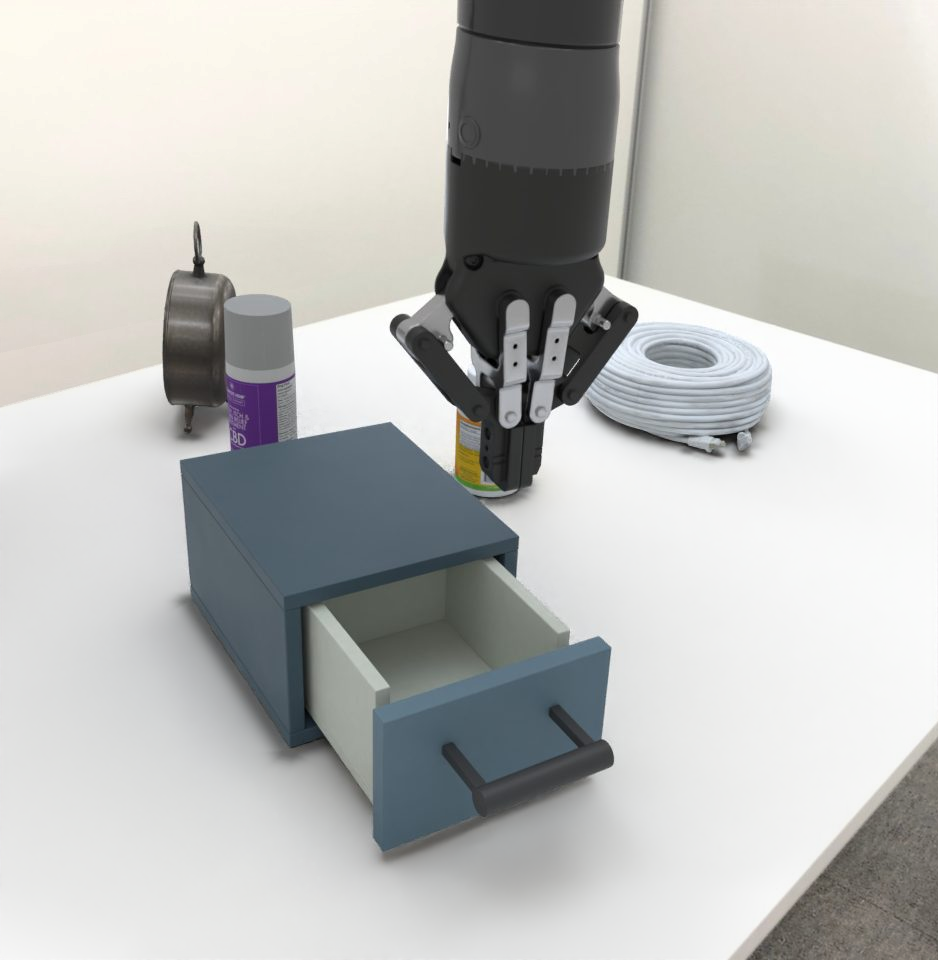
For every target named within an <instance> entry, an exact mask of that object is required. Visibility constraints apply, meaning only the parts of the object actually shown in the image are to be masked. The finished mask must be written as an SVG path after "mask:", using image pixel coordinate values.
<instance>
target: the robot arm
mask: <svg viewBox="0 0 938 960" xmlns="http://www.w3.org/2000/svg"><path fill="white" fill-rule="evenodd" d="M624 3H625V0H457V4H456V5H457V8H456V24H457V25H458V26H456V28H455V41H454V47H453V54H452V59H451V65H450V70H449V71H450V72H449V77H448V90H447V113H446V114H447V115H446V117H447V118H446V119H447V120H446V143H445V145H446V146H445V168H444V169H445V170H444V171H445V173H444V199H443V202H444V203H443V224H442V225H443V228H442V229H443V237H444V246H445V248H444V249H445V253H444V258H443V262H442V264H441V267H440V269H439V271H438V272H437V274H436V276H435V279H434V287H433V289H434V296H433V297H432V298H430V300H428V301H427V302H426V303H425V304H424V305H423V306H421V307H420V308H419V309H418V310H417V311H416V312H415V313H414V314H412V316H410V315H409V314H407V313H399V314H397V315H395V316H394V317H393V318H392V319H391V321H390V322H389V323H390V324H389V332H390V334H391V336H393V338H394V339H395V340H396V341H397V343H398V344H399V345H400V346H401V348H402V349H403V350H404V351H405V352H406V354H408V356H409V357H410V359H412V361H413V362H414V363H415V364H416V365H417V367H418V368H419V369H420V370H421V371H422V372H423V374H424V375H425V376H426V377H427V378H428V380H429V381H430V382H431V383H432V384H433V385H434V387H435V388H436V390H438V391H439V393H440V394H441V395H442V396H443V397H444V399H445V400H446V401H447V402H448V403H449V404H451V405H452V406H454V407H456V409H457V408H458V409H459V410H461V411H462V412H463V414H464V415H465V416H466V417H467V418H468V419H470V420H471V421H472V422H481V436H480V454H479V464H480V467H481V469H482V471H483V472H484V473H485V474H486V475H487V476H488V477H489V478H490V480H491V481H492V482H493V483H494V484H496V485H497V486H498V487H499V488H500V489H501V490H502V491H504V492H506V491H510V490H515V489H518V490H520V489H524V488H529V487H531V486H532V484H533V479H534V476H537V475H538V473H539V471H540V469H541V466H542V458H543V456H542V455H543V447H544V433H545V425H546V424H545V423H546V420H547V419H548V418H549V417H550V415H551V414H552V413H551V412H552V411H553V410H555V409H557V408H559V407H561V406H562V405H565V406H568V407H572V406H575V405H576V404H578V403H579V402H580V401H581V400H582V398H583V396H584V395H586V394H585V392H586V391H587V390H588V388H589V387H590V386H591V384H592V383H593V381H594V380H595V379H596V377H597V376H598V375H599V373H600V372H601V370H602V369H603V368H604V366H605V365H606V364H607V362H608V361H609V360H610V358H611V357H612V355H613V354H614V353H615V351H616V350H617V349H618V347H619V346H620V344H621V343H622V342H623V340H624V339H625V338H626V336H627V335H628V333H629V332H630V331H631V329H632V328H633V327H634V325H635V324H636V323H638V320H639V318H640V317H639V315H640V313H639V310H638V308H637V307H635V306H633V305H632V304H630V303H629V302H627V301H625V300H623V299H622V298H620V297H619V296H617V295H615V294H614V293H612V292H611V291H610V290H609V289H608V288H606V286H605V278H606V277H605V271H604V268H603V266H602V263H601V260H600V255H599V254H600V253H602V251H603V250H604V248H605V246H606V243H607V236H608V228H609V227H608V225H609V215H610V206H611V205H610V204H611V196H612V186H613V185H612V184H613V175H614V164H615V152H616V144H617V143H616V142H617V134H618V126H619V124H618V123H619V116H620V115H619V113H620V100H621V81H620V80H621V79H620V77H621V76H620V45H621V44H620V42H621V33H622V23H623V14H624ZM451 322H453V323H454V324H455V326H456V328H457V329H458V330H459V332H460V333H461V335H462V336H463V337H464V339H465V340H466V342H467V343H468V345H470V360H471V364H473V366H474V368H475V371H476V386H475V385H474V384H473V383H472V382H471V380H470V379H469V378H468V377H467V374H466V373H465V372H464V371H463V369H462V368H461V366H460V365H459V364H458V363H457V361H456V360H455V359H454V358H453V357H452V356H451V354H450V353H449V352H451V351H452V350H453V349H454V334H453V333H452V330H451Z"/></svg>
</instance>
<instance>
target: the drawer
mask: <svg viewBox="0 0 938 960" xmlns="http://www.w3.org/2000/svg"><path fill="white" fill-rule="evenodd" d="M301 628H302V657H303V687H304V706H305V708H306V709H307V711H308V712H309V714H310V715H311V716H312V718H313V719H314V721H315V722H316V724H317V725H318V727H319V728H320V729H321V731H322V732H323V734H324V735H325V738H326V739H327V742H329V744H330V745H331V746H332V749H334V751H335V752H336V754H337V755H338V757H339V758H340V760H341V761H342V762H343V764H344V766H345V767H346V769H347V770H348V772H350V774H351V775H352V777H353V779H354V780H355V782H357V785H359V787H360V788H361V790H362V791H363V792H364V794H365V796H366V797H367V798H368V800H369V801H370V802H371V804H372V838H373V840H374V841H375V843H376V844H377V846H378V847H379V849H380V850H381V852H382V853H386V852H389V851H391V850H393V849H396V848H398V847H401V846H403V845H406V844H408V843H411V842H413V841H416V840H419V839H422V838H423V837H424V838H425V837H426V836H428V835H431V834H435V833H437V832H438V831H441V830H444V829H446V828H448V827H452V826H453V825H456V824H458V823H461V822H464V821H466V820H468V819H471V818H474V817H476V816H478V815H479V817H480V818H487V817H490V816H493V815H495V814H499V813H500V812H502V811H505V810H507V809H510V808H513V807H515V806H517V805H520V804H523V803H525V802H527V801H530V800H533V799H536V798H537V797H540V796H543V795H545V794H547V793H550V792H552V791H555V790H557V789H560V788H562V787H565V786H568V785H571V783H575V782H578V781H580V780H582V779H585V778H587V777H590V776H592V775H595V774H597V773H600V772H602V771H605V770H607V769H609V768H612V767H613V766H614V764H615V754H614V751H613V747H612V746H611V745H610V743H609V742H608V741H607V740H605V739H603V731H604V729H603V728H604V720H605V713H606V712H605V711H606V702H607V692H608V686H609V685H608V683H609V675H610V674H609V673H610V665H611V656H612V646H611V645H609V643H607V642H606V641H605V640H604V639H603V638H602V637H601V636H599V635H596V636H593V637H591V638H587V639H585V640H581V641H578V642H575V643H572V644H570V637H571V629H570V628H569V627H568V626H567V625H566V624H565V623H564V622H563V621H562V620H561V619H560V618H559V617H558V616H557V615H555V614H554V612H552V611H551V610H550V609H549V608H548V607H547V606H546V605H545V604H544V603H543V602H542V601H541V600H540V599H538V598H537V596H536V595H534V594H533V593H532V592H531V591H530V590H529V589H528V588H527V587H526V586H524V584H522V583H521V581H520V580H518V579H517V577H516V578H515V577H514V576H513V575H512V574H511V573H510V572H509V571H508V570H506V569H505V568H504V567H503V566H502V565H501V564H500V563H499V562H498V561H497V560H496V559H495V558H494V557H493V556H492V557H488V558H484V559H480V560H476V561H473V562H469V563H465V564H461V565H457V566H454V567H450V568H446V569H442V570H438V571H435V572H431V573H427V574H423V575H419V576H416V577H412V578H408V579H404V580H400V581H397V582H393V583H389V584H385V585H381V586H378V587H374V588H370V589H366V590H362V591H359V592H355V593H351V594H347V595H343V596H340V597H336V598H332V599H328V600H324V601H321V602H317V603H313V604H309V605H305V606H302V607H301Z"/></svg>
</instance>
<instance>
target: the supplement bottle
mask: <svg viewBox="0 0 938 960" xmlns="http://www.w3.org/2000/svg"><path fill="white" fill-rule="evenodd" d="M466 373H467V374H466V375H467V377H468V378H469V379H470V380H471V382H472V383H473V384H474V385H475V386H476V371H475V368H474V366H473V364H472V363H470V364H469V366H468V367H467V372H466ZM455 411H456V412H455V413H456V415H455V416H456V418H455V445H454V447H455V448H454V479H455V480H456V481H458V482H459V483H460V484H461V485H462V486H463V487H464V488H465V489H467V490H468V491H469V492H470V493H471V494H472V495H473V496H477V497H483V498H501V497H506V496H509V495H513V494H515V492H517V491H518V490H519V489H515V490H510V491H506V492H504V491H502V490H501V489H500V488H499V487H498V486H497V485H496V484H494V483H493V482H492V481H491V480H490V478H489V477H488V476H487V475H486V474H485V473H484V472H483V471H482V469H481V467H480V464H479V454H480V436H481V422H472V421H471V420H470V419H468V418H467V417H466V416H465V415H464V414H463V412H462V411H461V410H459V409H458V408H457V407H456V410H455Z"/></svg>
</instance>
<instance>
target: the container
mask: <svg viewBox="0 0 938 960" xmlns="http://www.w3.org/2000/svg"><path fill="white" fill-rule="evenodd" d="M292 310H293V309H292V303H291V302H290V300H289V299H286V298H285V297H281V296H278V295H273V294H264V293H248V294H242V295H241V294H240V295H236V297H233V298H230V299H228V300H227V301H226V302H225V303H224V330H225V359H226V384H227V399H228V403H227V412H228V426H229V427H228V430H229V446H230V451H233V450H238V449H244V448H249V447H255V446H260V445H266V444H271V443H277V442H282V441H288V440H293V439H299V438H298V437H299V436H298V413H297V412H298V411H297V409H298V408H297V379H296V376H297V375H296V360H295V343H294V328H293V313H292Z"/></svg>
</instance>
